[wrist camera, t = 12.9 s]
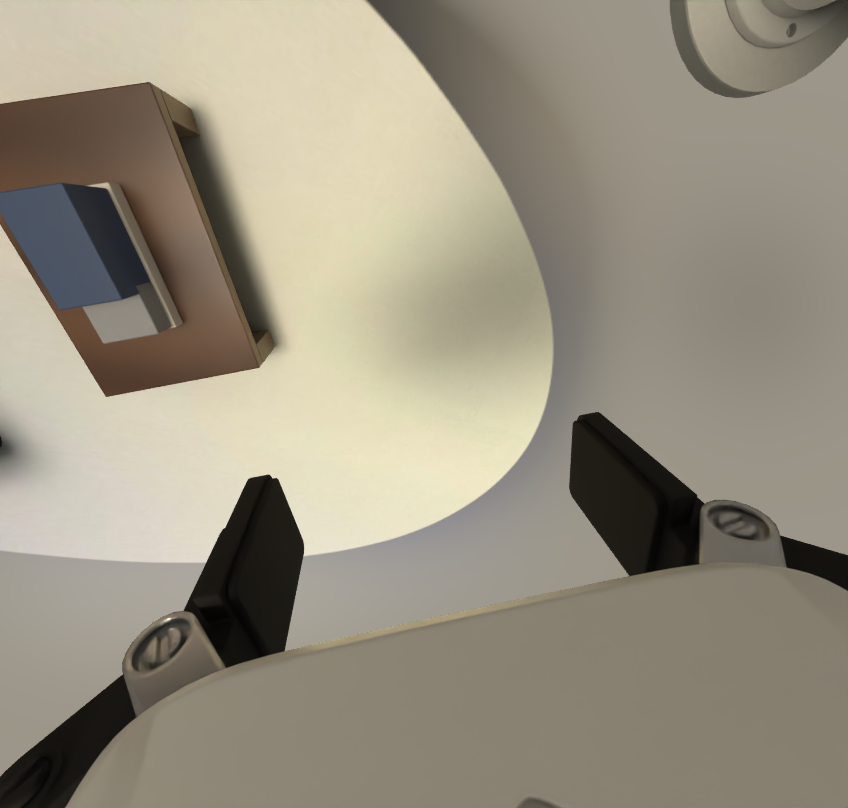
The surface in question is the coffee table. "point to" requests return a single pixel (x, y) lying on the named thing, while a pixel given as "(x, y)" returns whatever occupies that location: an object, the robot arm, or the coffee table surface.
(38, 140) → the low brown table
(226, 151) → the coffee table surface
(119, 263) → the stacked block assembly
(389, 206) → the coffee table surface
